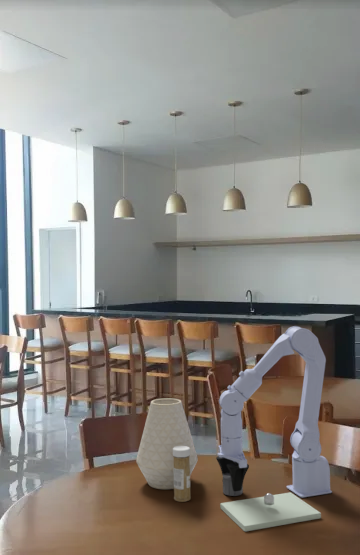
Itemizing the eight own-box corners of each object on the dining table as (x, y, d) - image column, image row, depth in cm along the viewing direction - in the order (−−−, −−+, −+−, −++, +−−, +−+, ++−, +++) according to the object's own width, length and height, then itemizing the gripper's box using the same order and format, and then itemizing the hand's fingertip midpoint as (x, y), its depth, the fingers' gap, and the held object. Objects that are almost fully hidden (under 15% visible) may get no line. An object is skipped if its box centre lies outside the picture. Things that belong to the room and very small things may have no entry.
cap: (237, 487, 148) (237, 471, 148) (245, 494, 143) (245, 477, 143) (220, 490, 147) (219, 473, 147) (227, 496, 142) (227, 479, 142)
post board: (290, 496, 142) (290, 478, 142) (321, 518, 128) (320, 498, 128) (220, 508, 135) (220, 489, 135) (244, 531, 122) (244, 510, 122)
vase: (209, 478, 156) (207, 398, 157) (176, 498, 142) (175, 410, 142) (159, 468, 166) (158, 393, 166) (124, 486, 151) (122, 404, 152)
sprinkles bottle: (194, 499, 141) (193, 448, 141) (179, 504, 138) (178, 451, 139) (184, 494, 145) (183, 443, 145) (170, 498, 142) (169, 447, 142)
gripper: (207, 430, 151) (208, 479, 151) (228, 444, 137) (230, 498, 137) (231, 428, 153) (232, 476, 153) (254, 441, 139) (255, 494, 139)
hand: (232, 486), depth 145 cm, fingers closed on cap, 5 cm apart
